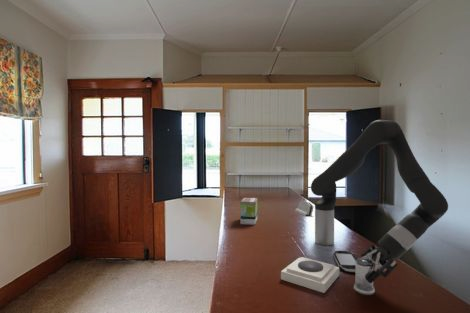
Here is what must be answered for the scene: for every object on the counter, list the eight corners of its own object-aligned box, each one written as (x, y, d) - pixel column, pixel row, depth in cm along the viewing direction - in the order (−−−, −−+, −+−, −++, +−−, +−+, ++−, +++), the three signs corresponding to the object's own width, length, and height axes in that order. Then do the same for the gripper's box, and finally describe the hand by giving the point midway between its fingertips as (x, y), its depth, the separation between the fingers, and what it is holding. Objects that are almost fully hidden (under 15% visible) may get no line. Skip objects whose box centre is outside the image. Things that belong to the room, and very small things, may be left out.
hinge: (294, 211, 209) (298, 198, 210) (300, 212, 210) (304, 200, 211) (305, 216, 193) (309, 202, 193) (310, 218, 194) (315, 204, 195)
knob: (356, 283, 97) (356, 255, 96) (376, 288, 93) (376, 259, 92) (351, 291, 92) (351, 261, 91) (372, 297, 88) (372, 266, 87)
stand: (299, 264, 113) (299, 253, 113) (339, 275, 103) (339, 263, 103) (281, 279, 100) (280, 267, 100) (324, 293, 90) (324, 279, 90)
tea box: (255, 225, 172) (255, 201, 172) (240, 224, 174) (239, 201, 173) (257, 219, 187) (257, 197, 187) (243, 218, 189) (242, 197, 188)
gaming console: (365, 275, 103) (365, 268, 103) (340, 273, 105) (340, 267, 105) (352, 255, 123) (352, 250, 122) (331, 254, 124) (331, 248, 124)
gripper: (378, 227, 98) (346, 258, 99) (401, 240, 84) (362, 276, 85) (393, 242, 98) (361, 273, 99) (418, 257, 84) (380, 293, 85)
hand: (362, 274), depth 92 cm, fingers open, 8 cm apart
